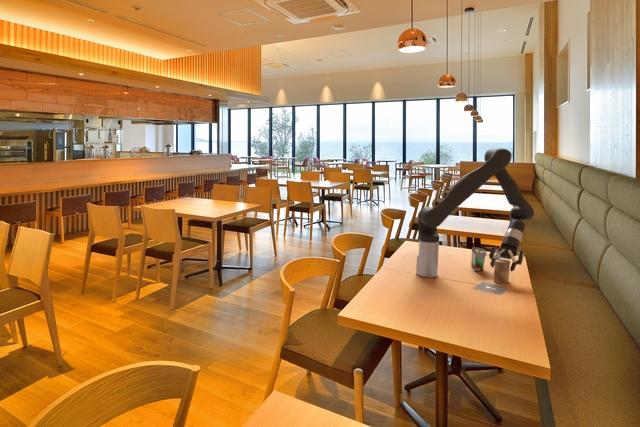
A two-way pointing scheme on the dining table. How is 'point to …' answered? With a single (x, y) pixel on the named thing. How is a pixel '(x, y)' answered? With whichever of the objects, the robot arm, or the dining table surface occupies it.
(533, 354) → the dining table surface
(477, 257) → the food container
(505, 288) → the tile
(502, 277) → the walnut block
